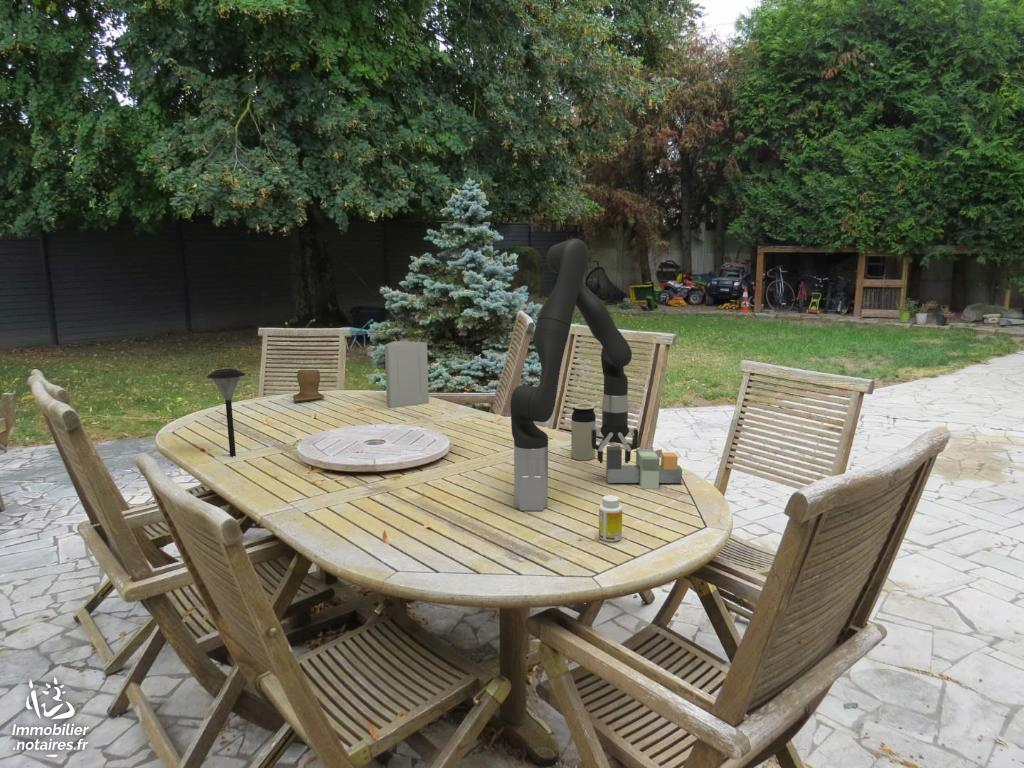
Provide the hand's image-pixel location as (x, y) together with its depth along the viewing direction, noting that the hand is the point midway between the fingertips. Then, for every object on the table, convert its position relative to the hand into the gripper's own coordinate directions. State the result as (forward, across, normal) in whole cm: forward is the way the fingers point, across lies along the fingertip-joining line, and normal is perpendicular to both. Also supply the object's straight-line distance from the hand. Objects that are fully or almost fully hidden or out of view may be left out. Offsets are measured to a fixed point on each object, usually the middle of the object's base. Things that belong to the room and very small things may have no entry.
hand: (613, 462), depth 206 cm
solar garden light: (+7, -127, +27) cm, 130 cm away
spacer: (+2, +16, 0) cm, 17 cm away
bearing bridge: (+6, +10, 0) cm, 12 cm away
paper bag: (+7, -83, +113) cm, 140 cm away
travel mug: (+7, -7, +26) cm, 28 cm away
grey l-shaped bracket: (+6, +9, 0) cm, 11 cm away
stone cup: (+7, -130, +119) cm, 176 cm away
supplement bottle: (+7, -6, -41) cm, 42 cm away
